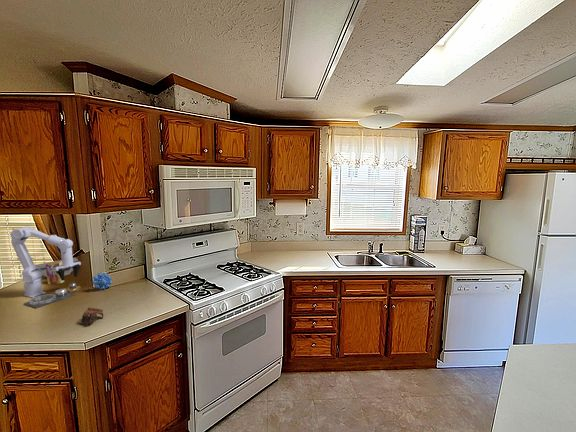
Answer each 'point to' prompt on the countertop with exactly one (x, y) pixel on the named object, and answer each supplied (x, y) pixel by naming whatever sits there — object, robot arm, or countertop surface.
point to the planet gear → (73, 287)
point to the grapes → (102, 281)
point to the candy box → (53, 273)
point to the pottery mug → (92, 313)
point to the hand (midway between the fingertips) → (69, 278)
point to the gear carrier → (48, 298)
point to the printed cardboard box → (43, 266)
